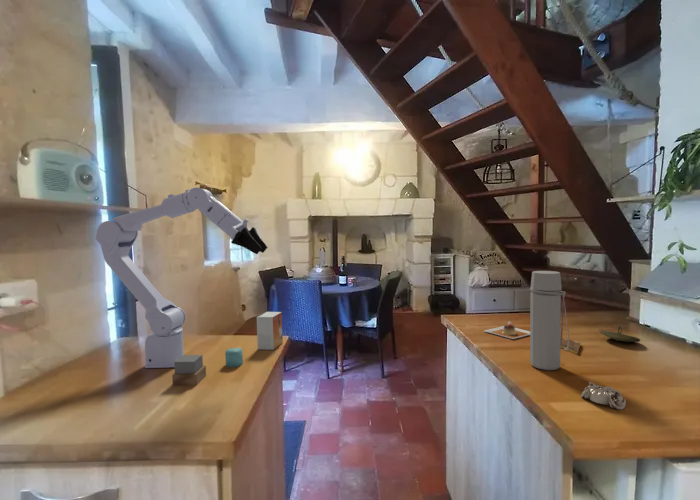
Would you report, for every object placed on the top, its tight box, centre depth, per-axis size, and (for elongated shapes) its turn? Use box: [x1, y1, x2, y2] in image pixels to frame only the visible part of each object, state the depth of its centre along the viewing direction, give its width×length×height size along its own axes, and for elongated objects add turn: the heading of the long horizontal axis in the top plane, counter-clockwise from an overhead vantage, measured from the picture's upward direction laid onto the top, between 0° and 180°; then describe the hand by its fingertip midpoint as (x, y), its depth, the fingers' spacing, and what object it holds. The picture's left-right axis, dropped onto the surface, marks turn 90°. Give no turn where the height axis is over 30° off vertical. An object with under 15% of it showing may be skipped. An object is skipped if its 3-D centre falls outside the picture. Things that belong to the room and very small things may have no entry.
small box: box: [256, 311, 284, 351], centre depth 124 cm, size 8×6×10 cm
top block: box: [174, 354, 204, 374], centre depth 97 cm, size 5×5×3 cm
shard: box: [560, 338, 582, 355], centre depth 115 cm, size 11×8×2 cm
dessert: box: [483, 320, 530, 340], centre depth 132 cm, size 12×12×5 cm
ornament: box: [580, 381, 627, 411], centre depth 80 cm, size 8×7×4 cm
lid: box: [599, 325, 641, 343], centre depth 119 cm, size 11×10×5 cm
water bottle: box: [529, 270, 570, 371], centre depth 100 cm, size 9×8×25 cm
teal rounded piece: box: [224, 347, 244, 368], centre depth 108 cm, size 5×5×4 cm
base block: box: [171, 365, 207, 387], centre depth 97 cm, size 6×6×3 cm
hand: (262, 250), depth 108 cm, fingers open, 7 cm apart
